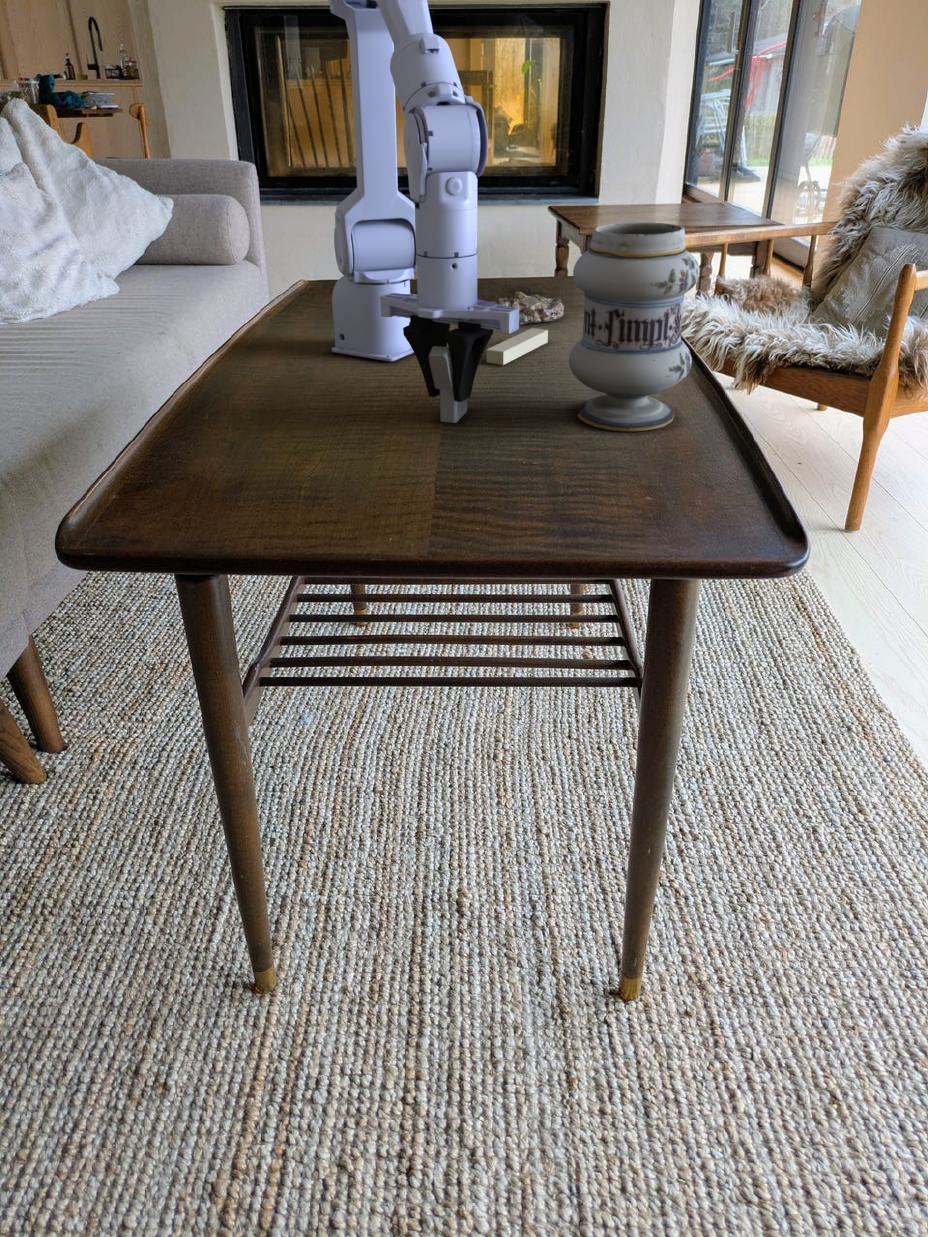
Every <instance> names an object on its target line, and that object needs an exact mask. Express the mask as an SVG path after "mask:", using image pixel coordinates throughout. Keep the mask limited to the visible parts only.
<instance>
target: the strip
mask: <svg viewBox="0 0 928 1237" xmlns="http://www.w3.org/2000/svg"><path fill="white" fill-rule="evenodd" d="M548 343H549V329H543V328H536V327H535V328H534V327H531V328H529V329H526V330H525V331H523V332H521V333H519V334H516V335H514V336H512V337H510V338H508V339H506V340H504V341H501V342H500V343H497V344H495V345H493V346H491V347H488V348H487V349H485V350H486V354H485V355H486V358H485V360H486V363H488V364H494V365H499V366H504V365H506V364H509V363H510V362H512V361H514V360H516V359H518V358H520V357H522V356H524V355H526V354H528V353H530V352H532V351H534V350H536V349H538V348H540V347H541V346H544V345H545V344H548Z"/></svg>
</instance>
